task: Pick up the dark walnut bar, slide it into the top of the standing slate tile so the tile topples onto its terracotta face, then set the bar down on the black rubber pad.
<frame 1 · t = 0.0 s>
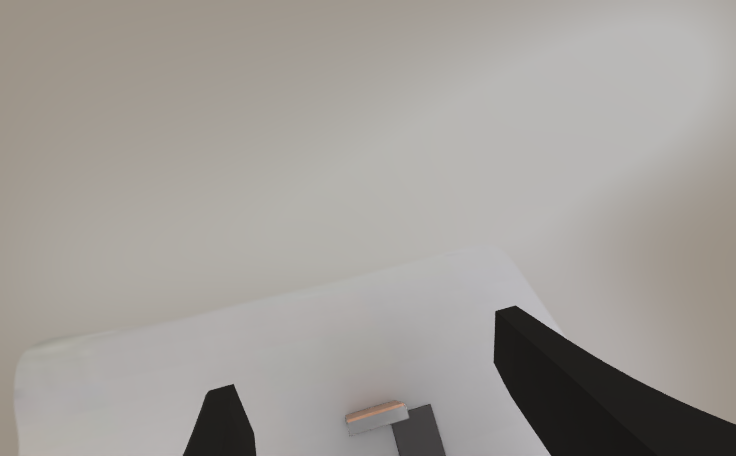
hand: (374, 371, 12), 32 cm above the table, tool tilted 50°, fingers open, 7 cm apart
tile: (372, 415, 42), on the table
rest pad: (420, 450, 41), on the table
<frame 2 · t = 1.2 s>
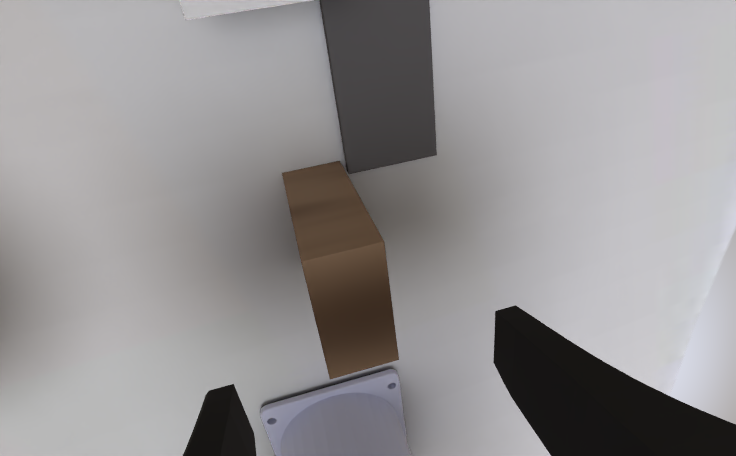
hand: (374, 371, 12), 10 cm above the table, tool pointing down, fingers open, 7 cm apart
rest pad: (382, 80, 18), on the table
brown wooden block: (321, 217, 20), on the table
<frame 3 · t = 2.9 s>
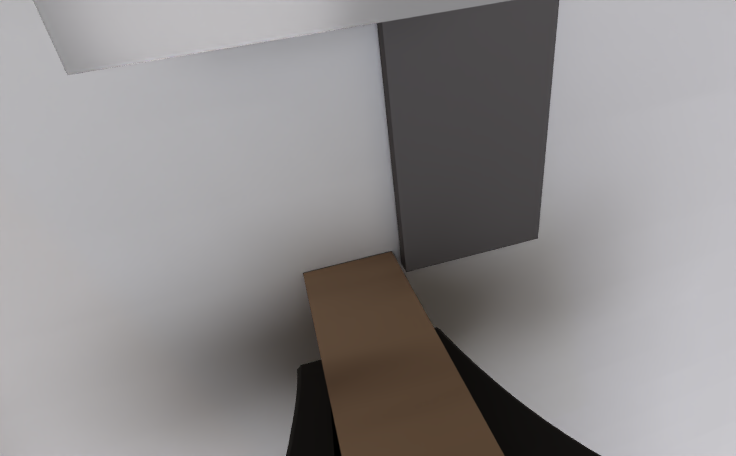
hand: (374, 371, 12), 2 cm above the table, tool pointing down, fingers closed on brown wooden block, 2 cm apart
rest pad: (466, 131, 11), on the table
brown wooden block: (360, 329, 13), on the table, touching gripper
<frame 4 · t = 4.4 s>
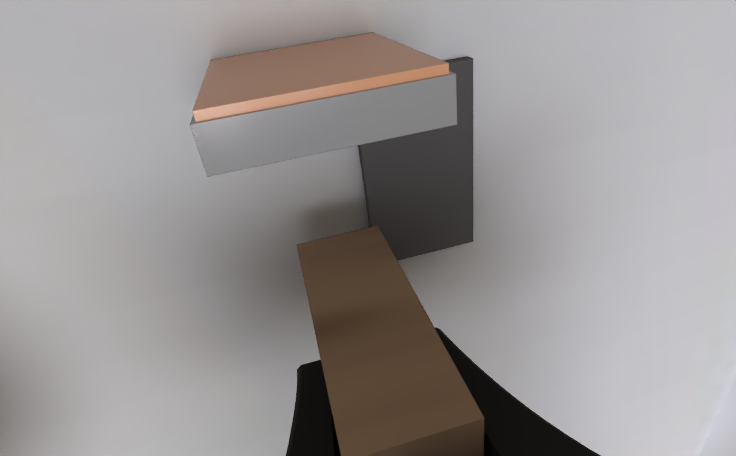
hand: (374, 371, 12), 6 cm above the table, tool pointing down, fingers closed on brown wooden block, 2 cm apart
tile: (298, 69, 13), on the table
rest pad: (416, 167, 16), on the table
brown wooden block: (349, 298, 15), point 3 cm above the table, touching gripper
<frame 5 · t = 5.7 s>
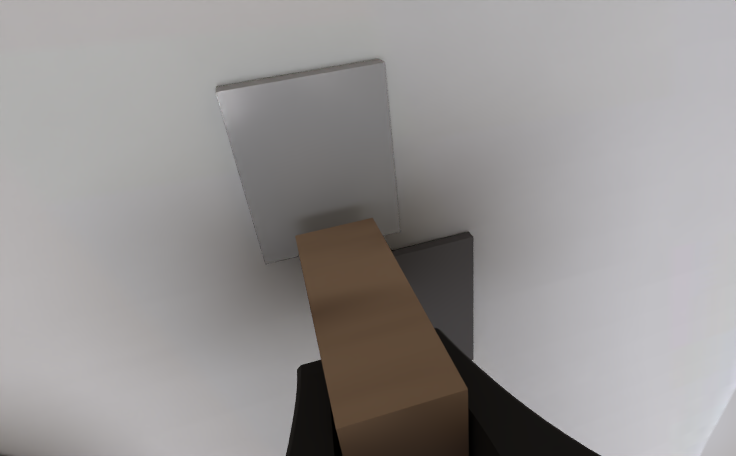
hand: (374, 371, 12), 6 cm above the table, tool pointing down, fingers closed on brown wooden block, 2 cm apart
tile: (332, 240, 16), on the table, tilted 90°
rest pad: (426, 309, 20), on the table
brown wooden block: (346, 288, 15), point 2 cm above the table, touching gripper
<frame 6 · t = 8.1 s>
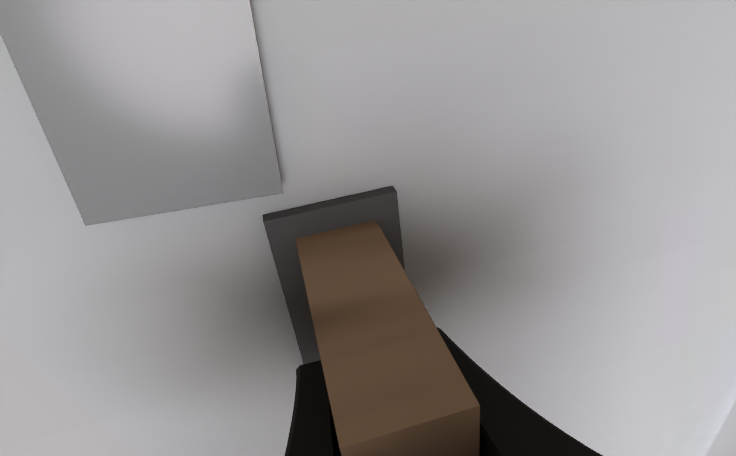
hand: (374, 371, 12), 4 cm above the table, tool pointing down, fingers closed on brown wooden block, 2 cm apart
tile: (189, 200, 12), on the table, tilted 90°
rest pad: (346, 290, 15), on the table
brown wooden block: (348, 293, 15), resting on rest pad, touching gripper
when the fingers open (3 cm above the table, at t = 8.5 s): brown wooden block stays where it is, resting on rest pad.
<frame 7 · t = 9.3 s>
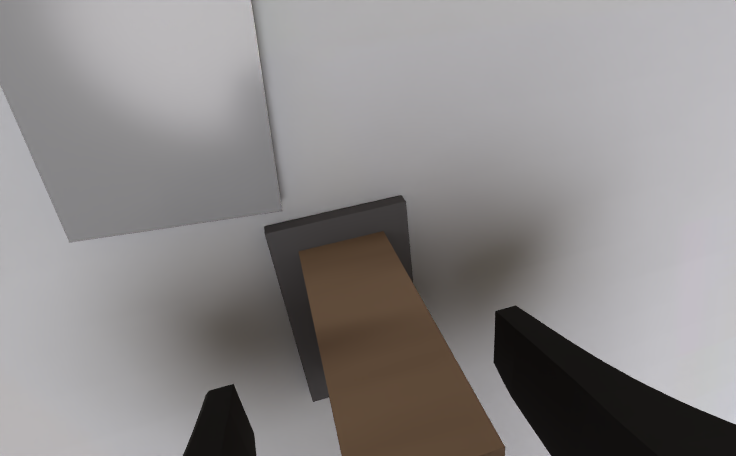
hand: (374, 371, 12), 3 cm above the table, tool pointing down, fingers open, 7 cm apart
tile: (182, 216, 11), on the table, tilted 90°
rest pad: (351, 304, 14), on the table
brown wooden block: (353, 307, 14), resting on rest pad
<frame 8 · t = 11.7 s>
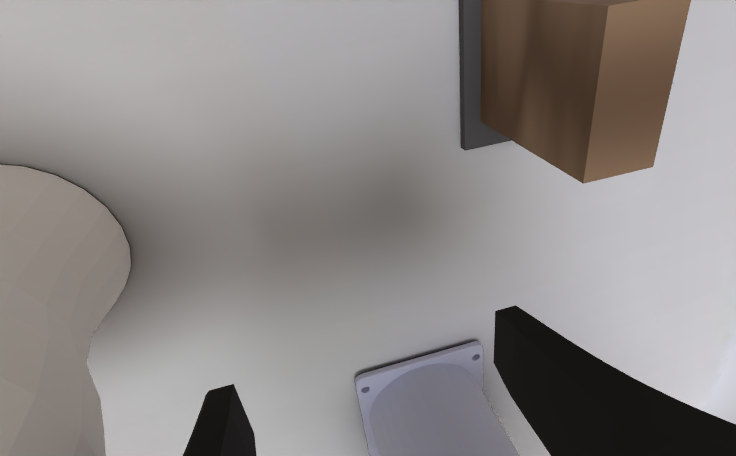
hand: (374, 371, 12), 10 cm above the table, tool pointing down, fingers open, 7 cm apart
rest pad: (503, 61, 19), on the table
brown wooden block: (508, 57, 19), resting on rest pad
cup: (27, 250, 18), on the table
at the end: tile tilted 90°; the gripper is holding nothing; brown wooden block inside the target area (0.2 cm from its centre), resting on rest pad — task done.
